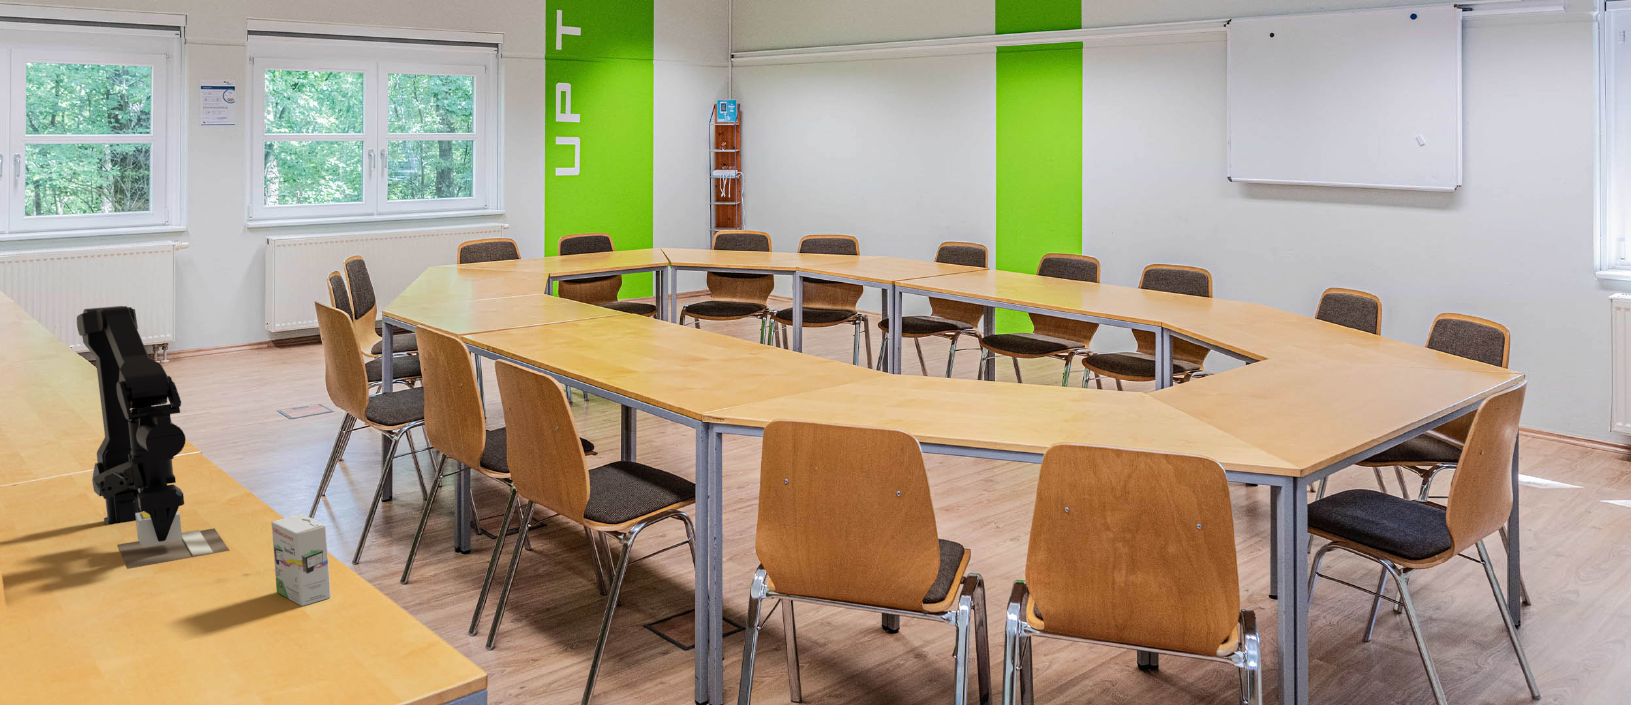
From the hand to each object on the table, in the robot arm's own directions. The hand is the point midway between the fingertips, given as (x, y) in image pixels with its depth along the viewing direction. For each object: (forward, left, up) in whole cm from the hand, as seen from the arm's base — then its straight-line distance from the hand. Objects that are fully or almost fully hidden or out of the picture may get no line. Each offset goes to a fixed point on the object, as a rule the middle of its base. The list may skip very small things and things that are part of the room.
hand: (159, 536), depth 200 cm
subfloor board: (0, +2, -4) cm, 4 cm away
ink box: (+32, +15, -4) cm, 36 cm away
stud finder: (0, 0, 0) cm, 0 cm away
